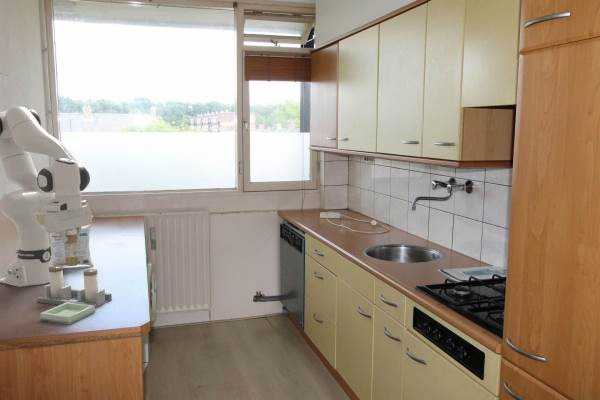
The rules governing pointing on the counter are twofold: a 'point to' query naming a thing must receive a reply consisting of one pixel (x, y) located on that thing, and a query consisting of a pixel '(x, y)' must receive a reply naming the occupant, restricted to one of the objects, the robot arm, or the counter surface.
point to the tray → (67, 313)
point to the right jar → (90, 285)
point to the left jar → (56, 280)
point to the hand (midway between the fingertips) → (70, 240)
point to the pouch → (59, 248)
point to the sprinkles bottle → (71, 248)
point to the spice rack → (68, 293)
